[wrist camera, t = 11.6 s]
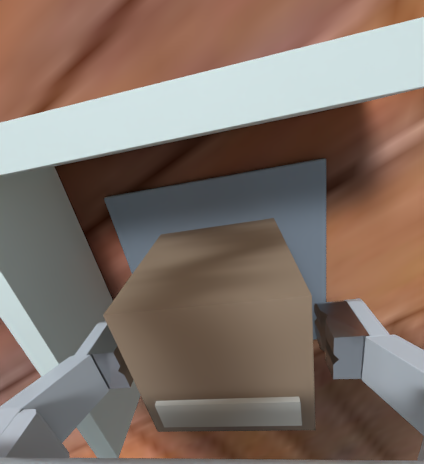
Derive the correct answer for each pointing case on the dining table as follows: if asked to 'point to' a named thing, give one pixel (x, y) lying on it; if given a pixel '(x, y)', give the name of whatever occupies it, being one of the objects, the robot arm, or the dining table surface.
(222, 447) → the dining table surface
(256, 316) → the walnut block
